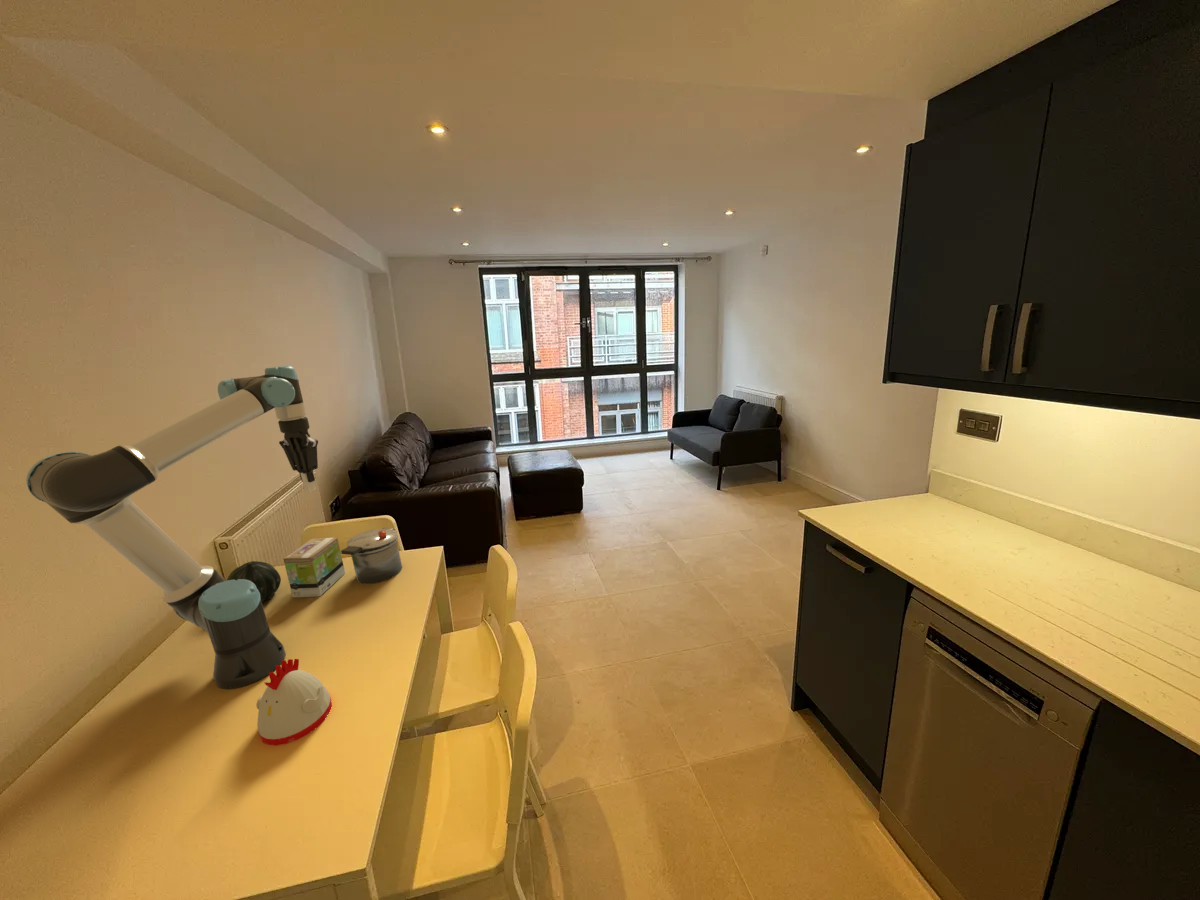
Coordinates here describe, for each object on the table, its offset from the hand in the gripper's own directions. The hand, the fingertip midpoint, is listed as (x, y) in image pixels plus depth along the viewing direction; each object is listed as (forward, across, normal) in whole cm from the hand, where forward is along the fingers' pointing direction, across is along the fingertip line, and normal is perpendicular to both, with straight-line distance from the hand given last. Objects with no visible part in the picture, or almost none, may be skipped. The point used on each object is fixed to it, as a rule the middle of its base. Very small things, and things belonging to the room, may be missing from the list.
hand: (311, 491), depth 145 cm
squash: (+37, +25, +8) cm, 45 cm away
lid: (+24, -6, -13) cm, 27 cm away
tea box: (+37, +10, -3) cm, 38 cm away
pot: (+36, -6, -14) cm, 39 cm away
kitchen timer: (+37, -33, +45) cm, 67 cm away
